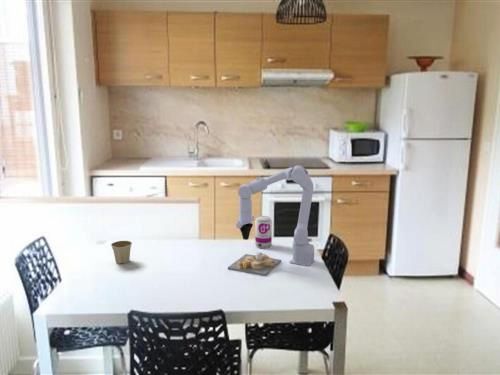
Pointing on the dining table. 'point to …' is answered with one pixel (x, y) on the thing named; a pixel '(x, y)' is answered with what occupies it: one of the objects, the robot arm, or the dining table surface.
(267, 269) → the base plate
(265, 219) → the supplement can
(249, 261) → the wooden beam assembly
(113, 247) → the flower pot
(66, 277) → the dining table surface
